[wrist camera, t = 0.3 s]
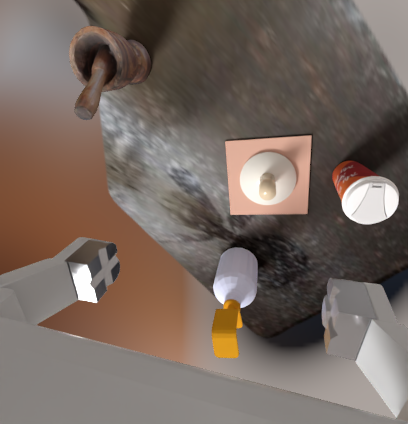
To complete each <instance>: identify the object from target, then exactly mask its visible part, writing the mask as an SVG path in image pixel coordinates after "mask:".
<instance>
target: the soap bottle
mask: <svg viewBox="0 0 408 424" xmlns="http://www.w3.org/2000/svg"><path fill="white" fill-rule="evenodd" d="M257 272H258V264H257V259H256V258H255V256H254V254H252V253H251V252H250V251H249V250H246V249H244V248H237V247H235V248H231V249H228V250H227V251H225V252H224V253H223V254H222V256H221V257H220V261H219V265H218V269H217V273H216V277H215V281H214V285H213V289H214V293H215V296H216V298H217V299H218V300H219V301H220V302H221V303H222V304H224V309H216V312H215V317H214V321H213V326H212V340H213V347H214V354H215V356H216V357H218V358H237V357H238V355H239V350H238V343H237V335H236V328H241V327H242V325H243V324H242V319H241V315H240V308H242V307H245V306H247V305H249V304H250V303H251V302H252V301H253V300H254V298H255V296H256V292H257Z"/></svg>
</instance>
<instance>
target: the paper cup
mask: <svg viewBox="0 0 408 424" xmlns="http://www.w3.org/2000/svg"><path fill="white" fill-rule="evenodd" d="M332 178H333V182H334V185H335V187H336V189H337V192H338V194H339V196H340V198H341V201H342V208H343V210H344V212H345V214H346V215H347V216H348V217H349V218H350V219H352V220H354V221H356V222H358V223H361V224H373V223H377V222H380V221H383V220H385V219H387V218H389V217H390V216H391V215H392V214H393V213H394V211H395V210H396V208H397V206H398V201H399V193H398V190H397V187H396V186H395V184H394V183H393V182H391V181H390V180H388V179H386V178H384V177H380V176H378V175H377V174H375V173H374V172H372V171H371V170H369V169H368V168H366V167H365V166H363V165H362V164H360V163H358V162H356V161H345V162H342V163H340V164H339V165H338V166H337V167H336V168H335V169H334V171H333V175H332Z"/></svg>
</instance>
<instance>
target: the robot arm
mask: <svg viewBox="0 0 408 424" xmlns="http://www.w3.org/2000/svg"><path fill="white" fill-rule="evenodd" d="M116 253H117V248H116V245H115V244H114V243H111V242H106V241H101V240H96V239H89V238H83V237H81V238H78V239H76V240H75V241H74V242H73V243H71V244H70V245H69V246H68V247H66V248H65V249H64V250H63V251H61V252H60V253H59V254H58V255H56V256H55V257H54V258H53V259H46V260H43V261H40V262H37V263H34V264H32V265H28V266H26V267H23V268H20V269H17V270H14V271H11V272H8V273H5V274H3V275H0V424H408V328H407V327H406V326H404V325H401V324H398V322H397V320H396V317H395V315H394V313H393V310H392V308H391V306H390V303H389V301H388V298H387V296H386V294H385V292H384V289H383V287H382V286H381V285H379V284H371V283H364V282H363V283H361V282H354V281H348V280H342V279H335V278H330V279H329V281H328V285H327V291H328V295H326V296H325V297H324V301H323V306H322V323H323V326H324V327H325V328H326V330H325V335H324V339H325V347H326V353H327V354H331V355H335V356H338V357H342V358H346V359H350V360H355V361H356V363H357V365H358V366H359V368H360V369H361V370H362V372H363V373H364V374H365V376H366V377H367V379H368V380H369V381H370V383H371V384H372V385H373V387H374V388H375V389H376V391H377V392H378V394H379V395H380V396H381V397H382V399H383V400H384V401H385V403H386V404H387V406H388V407H389V408H390V410H391V411H392V413H393V414H394V415H395V417H396V419H393V418H390V417H386V416H382V415H378V414H374V413H371V412H367V411H363V410H359V409H355V408H351V407H347V406H343V405H339V404H336V403H332V402H328V401H324V400H321V399H317V398H313V397H309V396H305V395H301V394H298V393H294V392H290V391H286V390H282V389H279V388H275V387H271V386H267V385H263V384H259V383H256V382H251V381H248V380H244V379H240V378H236V377H233V376H229V375H225V374H221V373H217V372H213V371H209V370H206V369H202V368H198V367H194V366H190V365H187V364H183V363H178V362H175V361H171V360H167V359H163V358H159V357H156V356H152V355H148V354H144V353H140V352H136V351H133V350H129V349H125V348H121V347H117V346H114V345H110V344H106V343H102V342H98V341H94V340H91V339H87V338H83V337H79V336H75V335H71V334H68V333H63V332H60V331H56V330H52V329H48V328H45V327H41V326H37V324H38V323H40V322H42V321H43V320H45V319H47V318H48V317H50V316H52V315H53V314H55V313H57V312H59V311H60V310H62V309H64V308H65V307H67V306H69V305H70V304H72V303H74V302H75V301H77V300H78V299H81V300H87V301H92V302H98V301H99V300H100V298H101V297H102V296H103V295H104V293H105V292H106V291H107V286H108V285H110V284H112V283H113V282H114V281H115V280H116V278H117V277H118V274H119V272H120V262H119V260H118V258H117V257H116V256H115V255H116Z"/></svg>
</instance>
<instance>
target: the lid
mask: <svg viewBox="0 0 408 424" xmlns="http://www.w3.org/2000/svg"><path fill="white" fill-rule="evenodd" d="M295 184H296V172H295V169H294V166H293V164H292V163H291V162H290V160H289V159H288V158H286V157H285V156H283V155H282V154H279V153H276V152H262V153H259V154H256V155H254V156H252V157H251V158H250V159H249V160H248V161H247V162H246V163H245V164H244V166H243V168H242V171H241V174H240V185H241V188H242V191H243V192H244V194H245V195H246V196H247V197H248V198H249V199H250V200H251V201H253V202H255V203H257V204H261V205H273V204H277V203H280V202H282V201H283V200H285V199H286V198H287V197H288V196H289V195H290V194H291V193H292V191H293V190H294V187H295Z"/></svg>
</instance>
